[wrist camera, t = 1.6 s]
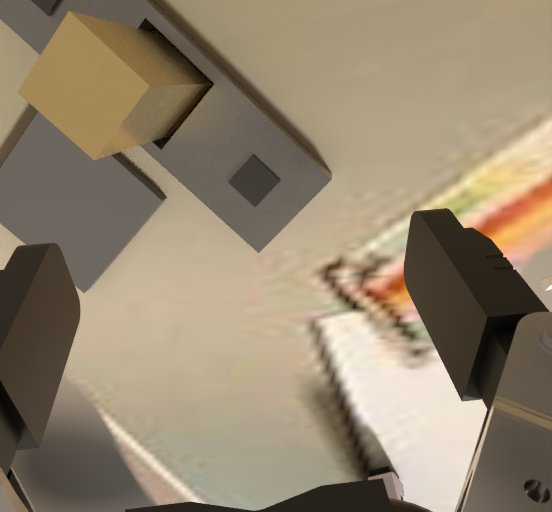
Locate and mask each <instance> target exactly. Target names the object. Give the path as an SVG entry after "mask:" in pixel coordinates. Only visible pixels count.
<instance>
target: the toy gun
mask: <svg viewBox="0 0 552 512" xmlns="http://www.w3.org/2000/svg"><path fill="white" fill-rule="evenodd" d="M369 472H370V477H368V480H373V479H382V478H383V480H384V483H385V487H386V490H387V494H388V497H389V498H393V499H398V500H402V501H403V497H402V496H404V491H403V485H402V483H401V482H400V480H399V478H398V476H397V474H396V473H395V472H394V471H393V470H392V469H391V468H390V467H389V466H388V467H384V468H380V469H376V470H371V471H369Z"/></svg>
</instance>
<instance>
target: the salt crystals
mask: <svg viewBox="0 0 552 512" xmlns="http://www.w3.org/2000/svg"><path fill="white" fill-rule="evenodd" d="M539 285H540V286H541V287H542V288H543V290H544V291H546V290H550V289H552V277H551V276H550V277H547V278H544V279H543V280H542V281H541V282H540V283H539Z"/></svg>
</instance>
